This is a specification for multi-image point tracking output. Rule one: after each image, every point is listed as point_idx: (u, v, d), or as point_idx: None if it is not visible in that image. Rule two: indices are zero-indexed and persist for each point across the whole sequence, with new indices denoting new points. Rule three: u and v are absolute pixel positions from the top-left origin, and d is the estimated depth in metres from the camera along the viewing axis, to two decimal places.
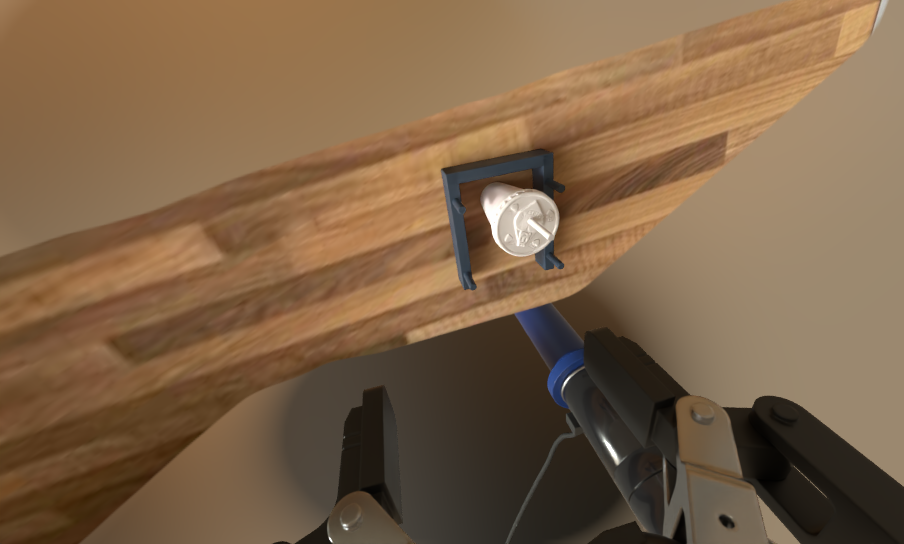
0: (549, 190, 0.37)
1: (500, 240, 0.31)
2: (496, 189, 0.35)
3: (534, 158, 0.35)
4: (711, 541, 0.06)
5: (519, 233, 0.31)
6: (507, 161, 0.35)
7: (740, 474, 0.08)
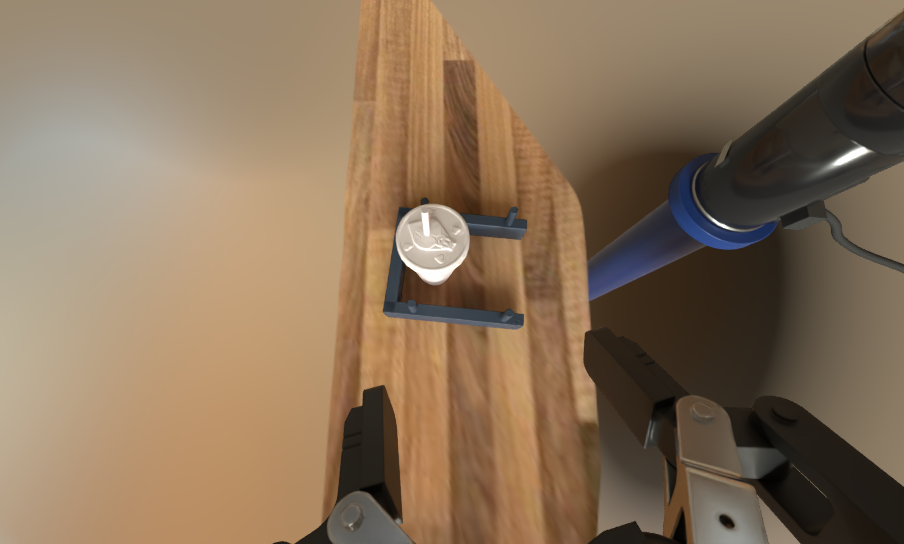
0: None
1: (439, 267, 0.28)
2: None
3: (397, 225, 0.36)
4: (712, 541, 0.06)
5: (437, 246, 0.28)
6: (392, 250, 0.36)
7: (740, 474, 0.08)
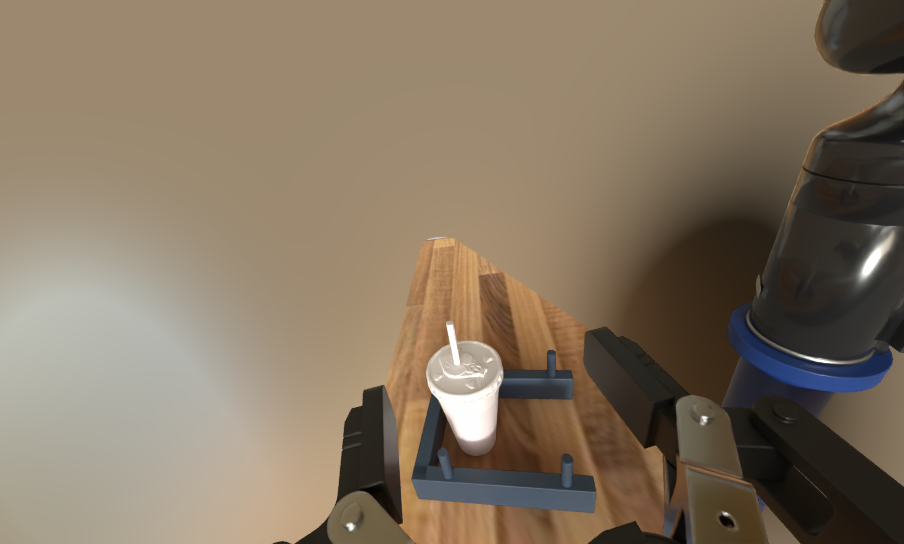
0: None
1: (470, 392, 0.25)
2: None
3: None
4: (711, 541, 0.06)
5: (468, 373, 0.27)
6: None
7: (741, 474, 0.08)
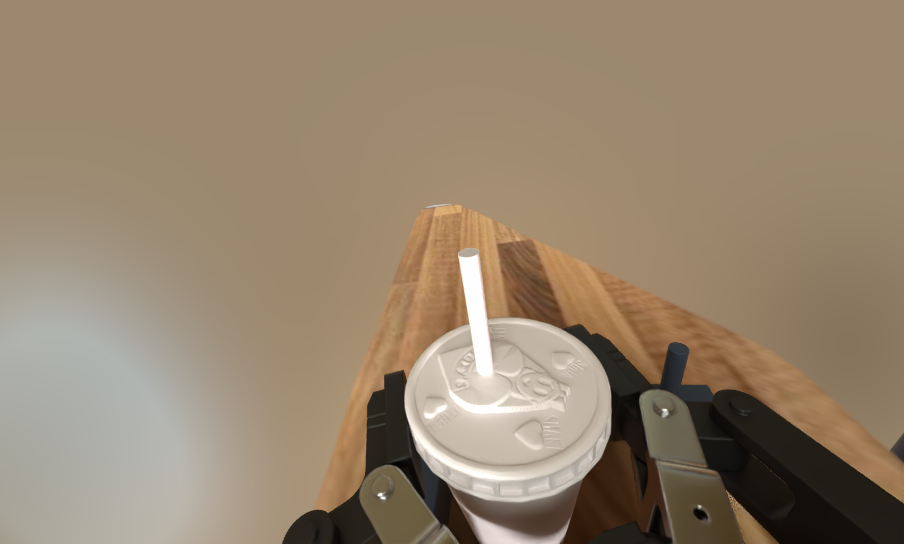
0: None
1: (534, 464, 0.08)
2: None
3: None
4: (690, 537, 0.06)
5: (519, 398, 0.10)
6: None
7: (705, 463, 0.08)
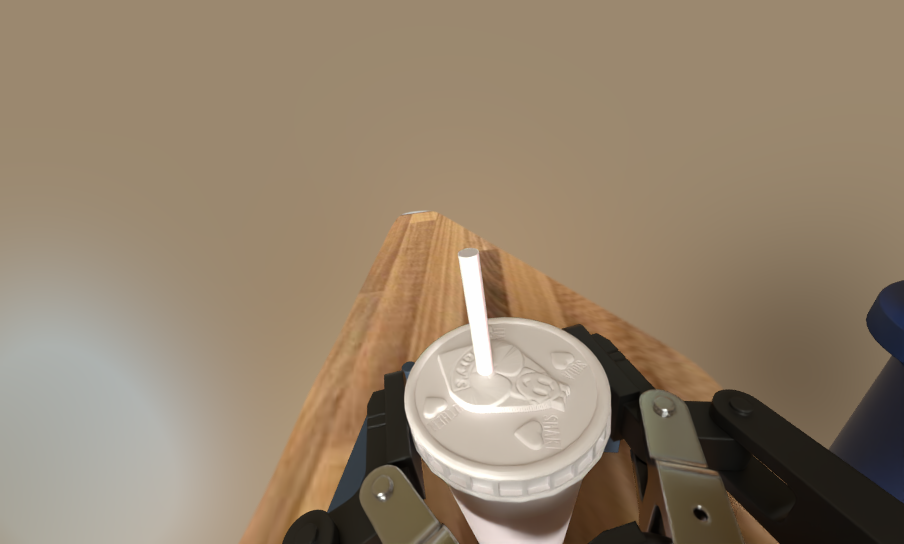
0: None
1: (534, 464, 0.08)
2: None
3: (365, 425, 0.19)
4: (690, 537, 0.06)
5: (518, 398, 0.10)
6: None
7: (705, 463, 0.08)
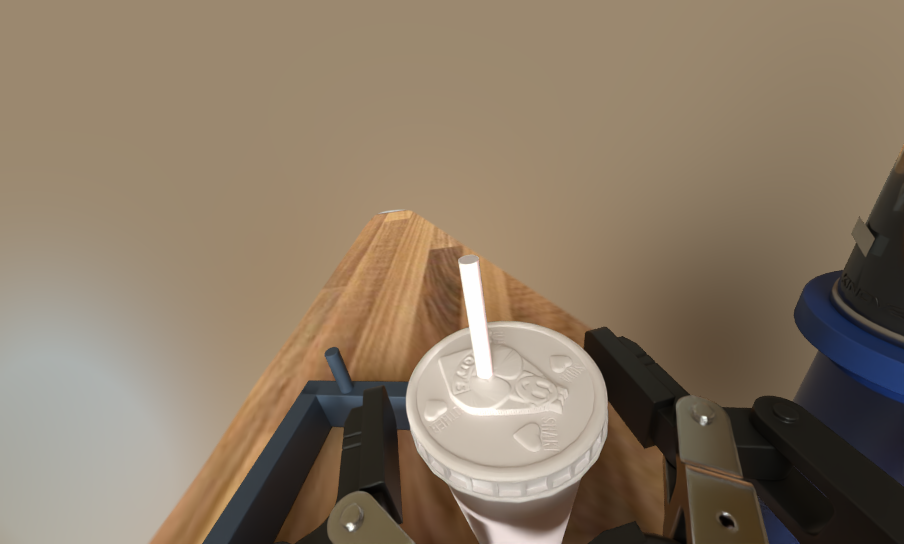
0: (362, 387, 0.21)
1: (532, 465, 0.08)
2: None
3: (292, 408, 0.20)
4: (712, 542, 0.06)
5: (517, 401, 0.10)
6: None
7: (740, 474, 0.08)
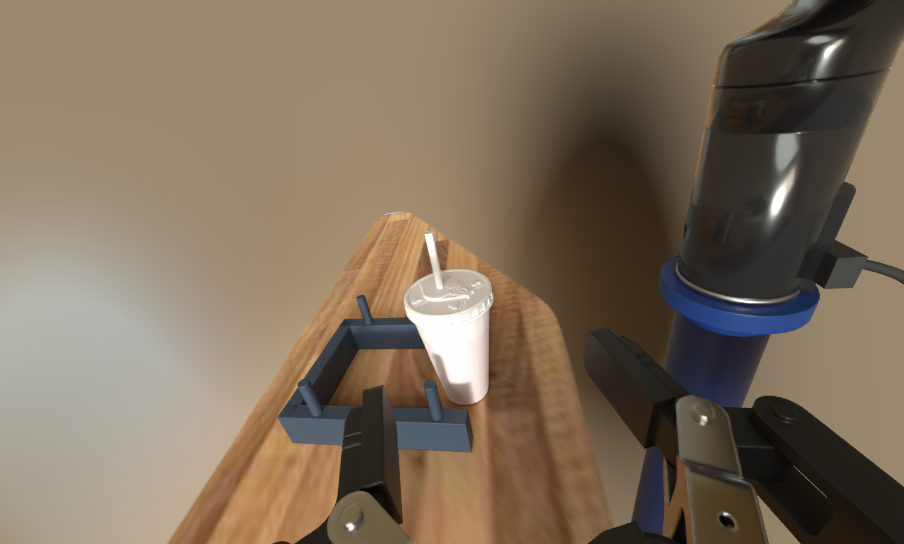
0: (378, 321, 0.33)
1: (452, 312, 0.21)
2: (432, 362, 0.26)
3: (336, 332, 0.33)
4: (712, 541, 0.06)
5: (451, 295, 0.23)
6: None
7: (741, 474, 0.08)
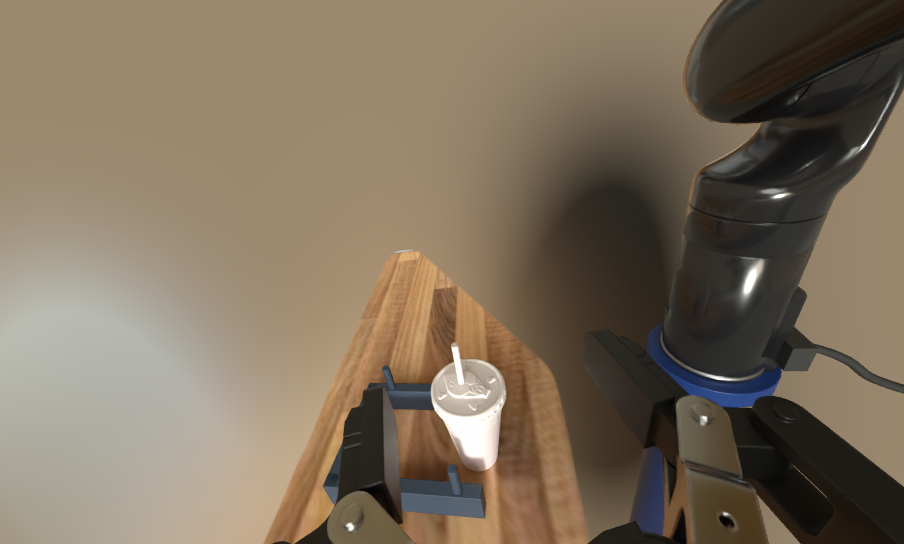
0: (400, 386, 0.38)
1: (473, 414, 0.26)
2: None
3: None
4: (712, 542, 0.06)
5: (471, 393, 0.28)
6: None
7: (740, 474, 0.08)
